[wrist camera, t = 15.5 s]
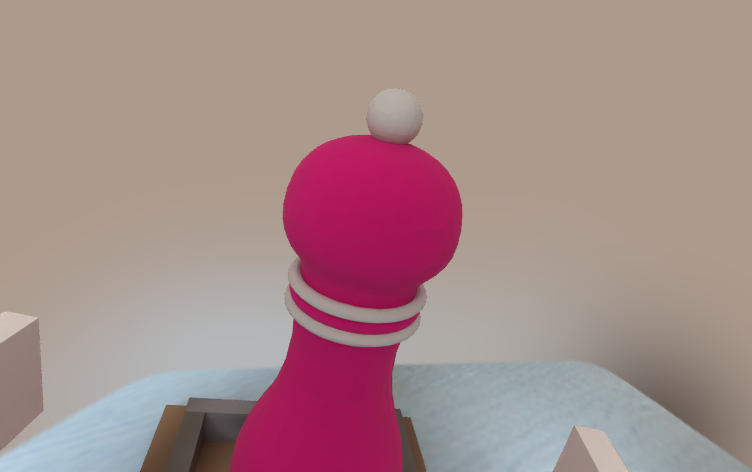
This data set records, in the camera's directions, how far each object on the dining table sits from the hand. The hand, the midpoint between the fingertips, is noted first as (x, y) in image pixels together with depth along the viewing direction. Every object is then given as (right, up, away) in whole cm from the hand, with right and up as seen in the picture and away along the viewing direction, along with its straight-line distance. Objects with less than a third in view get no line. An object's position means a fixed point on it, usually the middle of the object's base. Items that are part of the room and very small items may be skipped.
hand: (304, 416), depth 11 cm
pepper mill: (-2, -10, +9) cm, 14 cm away
